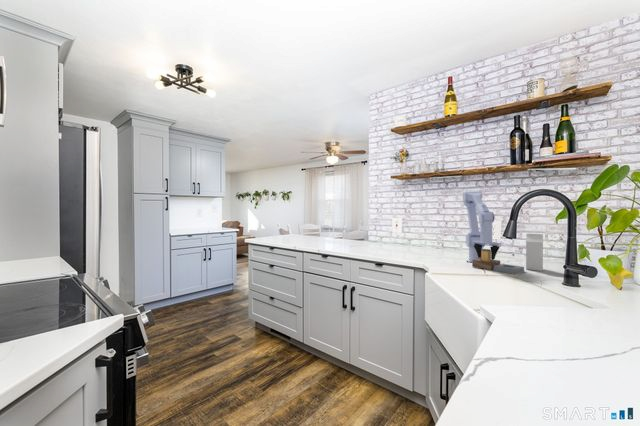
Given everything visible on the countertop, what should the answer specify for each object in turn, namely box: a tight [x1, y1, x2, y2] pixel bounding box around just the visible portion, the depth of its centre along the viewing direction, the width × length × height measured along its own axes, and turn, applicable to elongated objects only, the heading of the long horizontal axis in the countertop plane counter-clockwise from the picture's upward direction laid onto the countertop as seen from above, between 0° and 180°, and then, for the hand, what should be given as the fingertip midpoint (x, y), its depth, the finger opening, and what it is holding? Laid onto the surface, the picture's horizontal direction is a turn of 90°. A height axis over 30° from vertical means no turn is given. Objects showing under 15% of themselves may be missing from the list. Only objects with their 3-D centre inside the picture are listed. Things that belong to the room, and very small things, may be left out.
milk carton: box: [525, 233, 544, 272], centre depth 155 cm, size 7×7×19 cm
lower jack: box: [493, 263, 525, 275], centre depth 151 cm, size 10×10×2 cm
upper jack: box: [471, 258, 501, 271], centre depth 161 cm, size 10×10×4 cm
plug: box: [482, 248, 491, 261], centre depth 161 cm, size 3×3×8 cm
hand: (486, 258), depth 161 cm, fingers open, 7 cm apart
